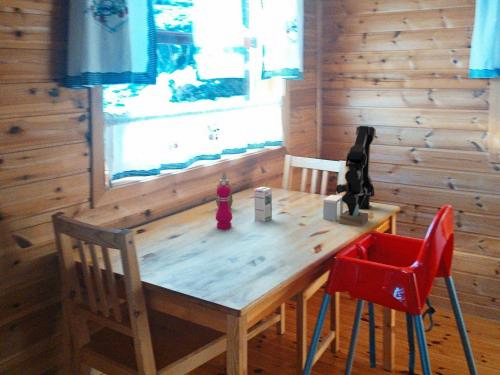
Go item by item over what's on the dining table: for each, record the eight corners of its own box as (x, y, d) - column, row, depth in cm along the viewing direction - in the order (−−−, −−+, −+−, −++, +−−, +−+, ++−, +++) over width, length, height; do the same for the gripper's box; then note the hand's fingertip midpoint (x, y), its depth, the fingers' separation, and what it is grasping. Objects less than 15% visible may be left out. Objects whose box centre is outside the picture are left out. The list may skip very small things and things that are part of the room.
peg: (351, 220, 249) (352, 203, 248) (358, 221, 248) (359, 204, 246) (349, 222, 246) (349, 205, 245) (356, 223, 245) (357, 206, 243)
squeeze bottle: (213, 207, 271) (212, 171, 267) (228, 206, 275) (228, 170, 270) (219, 211, 264) (219, 174, 260) (235, 209, 267) (235, 173, 263)
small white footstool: (330, 213, 261) (331, 194, 259) (342, 214, 259) (343, 196, 256) (323, 218, 253) (323, 199, 250) (335, 220, 250) (336, 201, 248)
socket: (346, 217, 254) (346, 210, 253) (367, 220, 249) (368, 213, 248) (339, 223, 245) (339, 216, 244) (361, 226, 241) (362, 218, 240)
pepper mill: (230, 229, 237) (229, 184, 232) (213, 228, 238) (213, 183, 233) (234, 225, 243) (233, 180, 239) (218, 224, 245) (217, 179, 240)
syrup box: (264, 221, 248) (264, 190, 245) (254, 219, 251) (253, 188, 248) (271, 219, 252) (272, 187, 249) (261, 216, 256) (261, 186, 253)
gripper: (344, 173, 254) (343, 206, 258) (330, 181, 238) (329, 216, 242) (368, 175, 249) (366, 208, 253) (356, 183, 233) (354, 219, 237)
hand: (354, 213), depth 246 cm, fingers open, 9 cm apart
